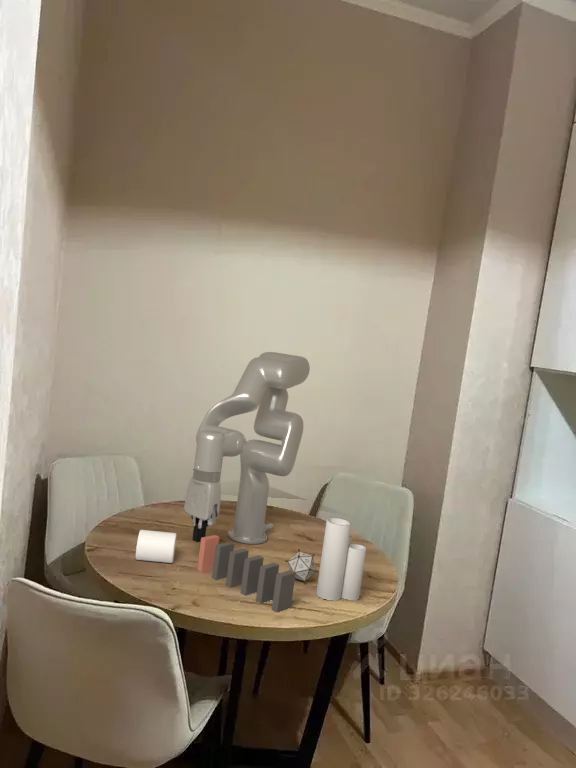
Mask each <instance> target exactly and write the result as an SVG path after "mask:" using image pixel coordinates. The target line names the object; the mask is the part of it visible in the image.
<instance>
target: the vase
mask: <svg viewBox="0 0 576 768" xmlns="http://www.w3.org/2000/svg"><path fill="white" fill-rule="evenodd" d="M351 528H352V522H351V521H349V520H347V519H343V518H339V517H328V518H327V519H326V523H325V530H324V534H323V535H324V537H323V542H322V550H321V557H320V564H319V570H318V571H319V572H318V578H317V579H318V580H317V585H316V593H315V595H316V594H317V595H318V596H319V597H321V598H323V599H327V600H338V599H340V600H341V597H342V598H344V599H348V600H357V599H359V600H360V595H361V587H362V582H363V581H362V580H363V574H364V569H365V562H366V561H365V560H366V553H367V547H366V546H365V545H362V544H358V543H352V537H353V536H352V535H351ZM317 595H316V596H317ZM318 596H317V597H318ZM319 597H318V598H319ZM321 598H320V599H321ZM323 599H322V600H323ZM338 601H339V600H338Z"/></svg>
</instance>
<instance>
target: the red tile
mask: <svg viewBox="0 0 576 768" xmlns="http://www.w3.org/2000/svg"><path fill="white" fill-rule="evenodd" d="M219 542H220V536H218V535H217V534H214V535H207V536H205V537H202V538H201V541H200V545H199V551H198V552H199V553H198V561H197V566H196V567H197V568H196V569H197V570H196V571H199V572H200V573H203V572H208V571H211V570H212V571H213V564H214V556H215V548H216V545H218V544H220V543H219Z"/></svg>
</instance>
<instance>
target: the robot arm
mask: <svg viewBox="0 0 576 768" xmlns="http://www.w3.org/2000/svg"><path fill="white" fill-rule="evenodd" d="M310 367H311V366H310V362H309V360H308V359H307V358H306V357H303V356H299V355H294V354H286V353H282V352H274V351H266V352H262V353H261V354H260V355H259V357H258V356H257V357H254V358H252V359H251V360H250V361H249V362H248V364H247V365H246V368H245V370H244V371H243V373H242V375H241V377H240V379H239V381H238V383H237V385H236V387H235V388H234V390H233V392H232V394H231V395H228V396H226V397H225V398H224V399H222V400H220V401H219V402H217V403H216V404H215V405H213V406H212V407H211V408H210V409H209V410H208V411H207V412H206V414H205V415H204V418H203V419H202V421H201V423H200V425H199V427H198V428H197V432H196V437H195V442H196V449H195V454H194V461H193V462H194V464H193V469H192V470H193V471H192V472H193V473H192V477H190V479H189V482H188V486H187V489H186V493H185V500H184V504H183V505H184V506H183V507H184V508H183V510H184V511H185V513H187V515H188V516H190V518H191V520H192V527H193V532H192V541H194V542H196V543H199V542H200V543H201V538H202V537H206V532H207V528H208V527H209V526H213V525H216V523H217V519H218V517H219V514H220V509H221V499H222V498H221V496H222V495H221V493H222V491H221V489H222V488H221V483H220V482H221V474H222V467H223V459H224V457H228V458H229V457H230V458H231V457H237V456H239V458H240V459H239V460H240V463H239V464H240V478H239V484H238V485H239V486H238V494H237V502H236V508H235V509H236V510H235V515H234V521H233V522H234V525H233V528H231V529H229V530H228V531H227V536H228V537H229V539H231V540H232V541H234V542H237V543H241V544H246V545H247V544H248V545H249V544H250V545H259V544H263V543H266V542H267V540H268V535H267V534H266V532H267V530H272V529H273V528H274V524H273V523H272V522H271V523H265V521H266V514H267V507H268V498H269V492H270V482H269V478H268V476H267V474H270V475H274V476H279V477H287V476H289V475H290V474H291V473H292V471H293V469H294V466H295V462H296V460H297V457H298V456H297V455H298V452H299V448H300V444H301V441H302V438H303V433H304V419H303V417H302V416H301V415H299V414H298V413H296V412H293V411H287V410H286V409H287V405H288V401H289V393H288V390H287V389H291V388H294V387H295V386H299V385H301V384H303V383H304V382H305V381H306V380H307V378H308V376H309V375H310ZM256 410H257V412H256V416H255V419H254V424H253V430H254V432H255V433H256V434H257V435H258V436H259V437H263V438H267V439H271V440H276V441H280V442H281V444H279V443H274V442H271V441H265V440H261V439H248V440H246V437H245V435H244V434H243V432H241V431H239V430H235V429H231V428H227V427H224V426H219V425H220V424H221V423H222V422H224V421H225V420H227V419H229V418H231V417H232V418H233V417H235V416H238V415H243V414H247V413H250V412H251V413H252V412H254V411H256Z"/></svg>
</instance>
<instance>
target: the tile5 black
mask: <svg viewBox="0 0 576 768" xmlns="http://www.w3.org/2000/svg"><path fill="white" fill-rule="evenodd" d="M279 569H280V564H278V563H277V562H272V563H271V562H270V563H268V564H264V565H263V566H260V573H259V580H258V588H257V592H256V596H255V602H256V603H258V602H259V603H258V604H260V603H261V604H260V605H262V603H263V604H265V603H264V602H266V603H268V602H267V601H269V602H271V601H270V600H272V601H273V597H274V589H275V582H276V575H277V574H278V573H279Z"/></svg>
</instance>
